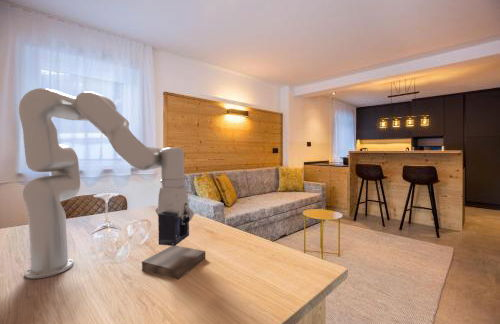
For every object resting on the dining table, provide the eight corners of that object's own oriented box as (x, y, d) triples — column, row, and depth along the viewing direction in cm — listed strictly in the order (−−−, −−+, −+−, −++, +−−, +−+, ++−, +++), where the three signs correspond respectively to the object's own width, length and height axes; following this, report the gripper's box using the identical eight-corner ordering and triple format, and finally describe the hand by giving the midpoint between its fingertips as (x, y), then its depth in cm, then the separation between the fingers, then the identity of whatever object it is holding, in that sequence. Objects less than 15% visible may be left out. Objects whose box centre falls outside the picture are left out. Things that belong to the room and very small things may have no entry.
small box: (175, 246, 77) (174, 214, 77) (157, 245, 78) (156, 214, 78) (190, 235, 87) (189, 207, 87) (174, 234, 89) (173, 206, 88)
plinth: (142, 270, 79) (141, 261, 79) (173, 252, 93) (173, 245, 93) (178, 279, 74) (177, 270, 73) (205, 259, 87) (205, 251, 87)
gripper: (145, 183, 82) (147, 234, 83) (186, 186, 75) (188, 241, 76) (161, 181, 89) (163, 227, 90) (200, 183, 82) (202, 233, 83)
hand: (174, 233), depth 83 cm, fingers closed on small box, 7 cm apart
